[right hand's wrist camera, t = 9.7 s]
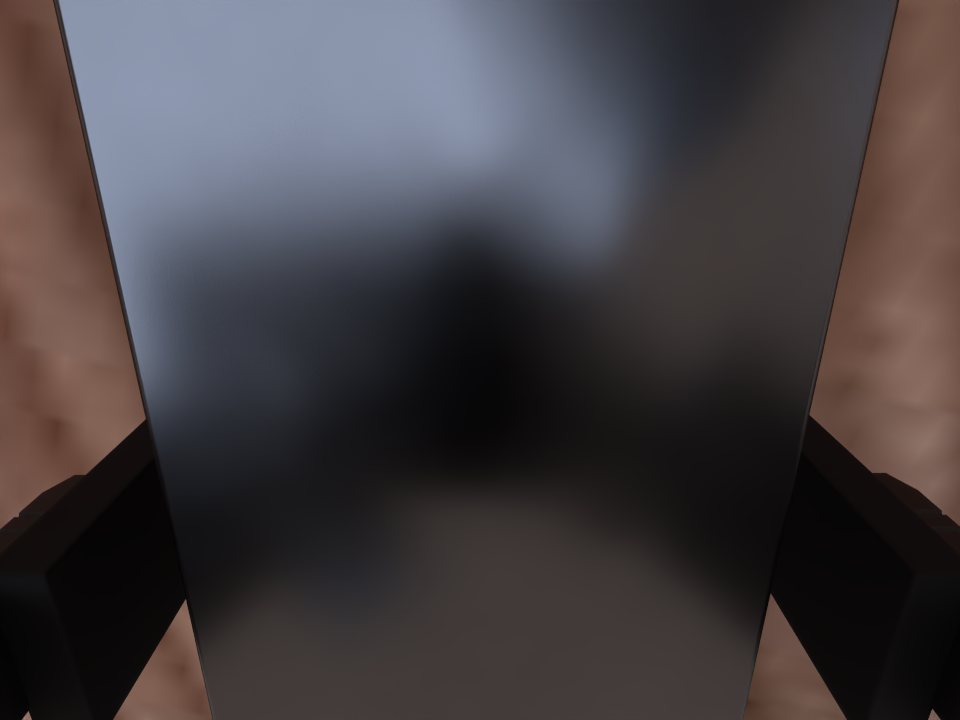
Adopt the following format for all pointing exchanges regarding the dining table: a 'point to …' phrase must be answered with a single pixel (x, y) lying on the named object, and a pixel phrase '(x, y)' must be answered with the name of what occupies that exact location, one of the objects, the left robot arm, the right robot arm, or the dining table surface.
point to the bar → (476, 332)
